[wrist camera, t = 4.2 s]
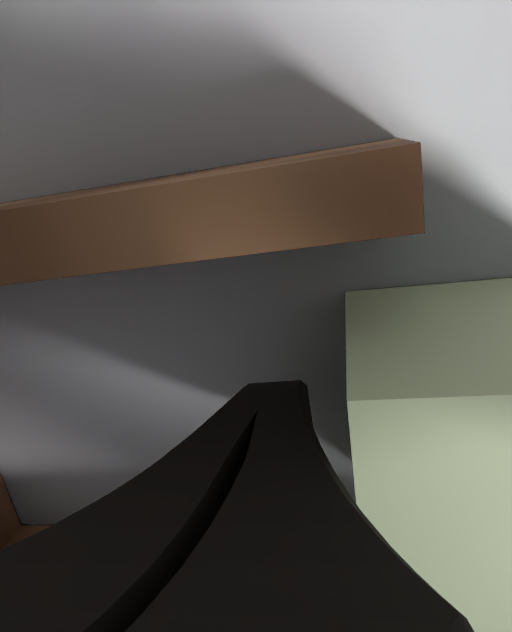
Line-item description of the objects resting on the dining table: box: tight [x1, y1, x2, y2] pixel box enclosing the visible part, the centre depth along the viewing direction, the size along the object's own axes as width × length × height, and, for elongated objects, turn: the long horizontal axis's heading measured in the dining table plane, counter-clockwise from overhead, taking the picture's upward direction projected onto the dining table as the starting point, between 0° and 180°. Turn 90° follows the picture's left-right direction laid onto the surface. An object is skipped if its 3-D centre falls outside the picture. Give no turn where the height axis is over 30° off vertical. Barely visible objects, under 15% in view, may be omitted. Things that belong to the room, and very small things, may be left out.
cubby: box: [0, 138, 425, 550], centre depth 11 cm, size 13×10×3 cm
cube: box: [345, 278, 512, 632], centre depth 9 cm, size 4×4×4 cm
